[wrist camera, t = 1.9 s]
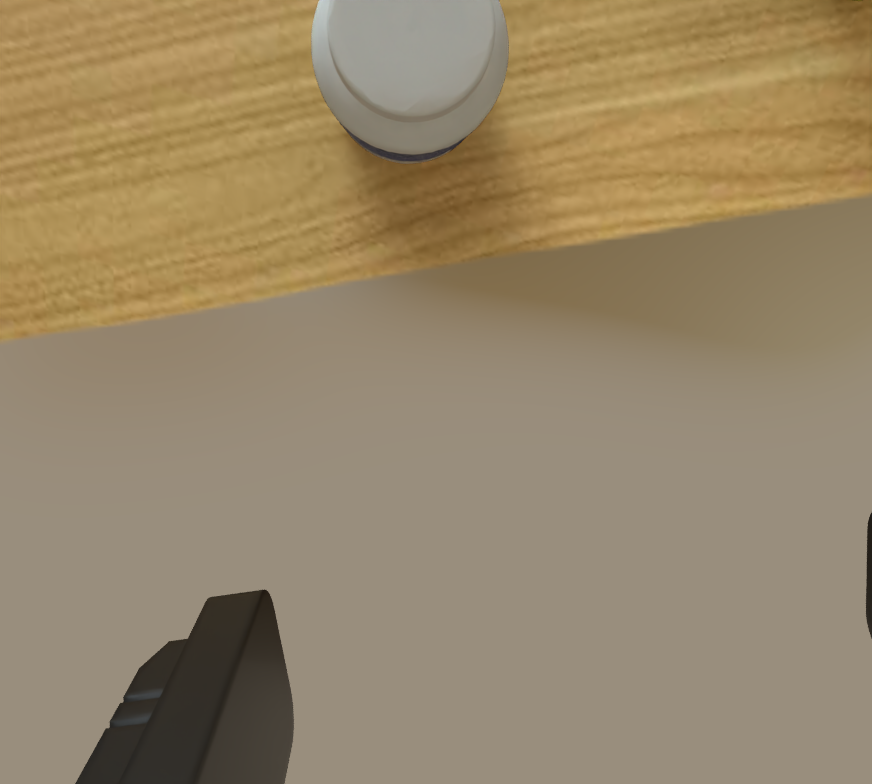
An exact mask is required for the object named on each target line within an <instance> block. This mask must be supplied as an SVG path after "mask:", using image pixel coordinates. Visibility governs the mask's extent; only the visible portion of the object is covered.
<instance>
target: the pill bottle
mask: <svg viewBox="0 0 872 784" xmlns="http://www.w3.org/2000/svg"><path fill="white" fill-rule="evenodd" d="M311 50H312V61H313V67H314V72H315V76H316V79H317V82H318V85H319V88H320V91H321V93H322V96H323V98H324V100H325V102H326V103H327V105H328V107H329V108H330V110H331V111H332V113H333V114H334V116H335V117H336V118H337V120H338V121H339V122H340V124H341V125H342V126H343V127H344V129H345V130H346V131H347V132H348V133H349V135H350V136H351V137H352V138H353V139H354V140H355V141H356V142H357V143H358V144H359V145H360V146H362V147H363V148H364V149H365V150H367V151H368V152H370V153H372V154H374V155H375V156H378V157H380V158H382V159H385V160H388V161H392V162H397V163H405V164H406V163H408V164H410V163H421V162H426V161H430V160H433V159H436V158H438V157H440V156H442V155H444V154H446V153H448V152H450V151H451V150H453V149H454V148H455V147H456V146H457V145H459V144H460V143H461V142H462V141H463V140H464V139H465V138H466V137H467V136H468V135H469V134H470V133H472V132H473V131H474V130H475V129H476V128H477V127H478V126H479V125H480V123H481V122H482V121H483V120H484V119H485V117H486V116H487V114H488V113H489V112H490V110H491V109H492V107H493V105H494V104H495V102H496V100H497V98H498V96H499V94H500V91H501V89H502V86H503V83H504V80H505V76H506V71H507V65H508V53H509V41H508V32H507V25H506V21H505V17H504V14H503V11H502V8H501V5H500V3H499V0H319V3H318V6H317V9H316V12H315V16H314V20H313V26H312V36H311Z"/></svg>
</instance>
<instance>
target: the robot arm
mask: <svg viewBox="0 0 872 784" xmlns="http://www.w3.org/2000/svg"><path fill="white" fill-rule="evenodd" d="M867 533H868V534H867V589H866V592H867V593H866V617H867V624H868V628H869V632H870V634H871V638H872V513H871V515H870V517H869V521H868V531H867ZM123 698H124V702H123V703H120V704H119V706H118V708H117V710H116V711H115V714H114V715H113V717H112V719H111V720H110V728H107V729H105V731H104V733H103V735H102V737H101V739H100V740H99V742H98V744H97V746H96V747H95V749H94V751H93V753H92V755H91V756H90V758H89V760H88V762H87V764H86V765H85V767H84V769H83V771H82V773H81V775H80V776H79V778H78V780H77V782H76V783H75V784H284V783H285V778H286V773H287V768H288V763H289V757H290V752H291V747H292V742H293V730H294V719H293V718H294V717H293V702H292V694H291V689H290V684H289V679H288V674H287V669H286V664H285V659H284V654H283V650H282V645H281V640H280V635H279V630H278V625H277V620H276V615H275V610H274V606H273V602H272V599H271V596H270V594H269V593H268V591H267V590H259V591H252V592H245V593H238V594H230V595H223V596H216V597H210V598H208V599H207V601H206V602H205V605H204V607H203V609H202V611H201V613H200V615H199V617H198V619H197V621H196V623H195V625H194V627H193V629H192V631H191V633H190V636H189V638H188V639H183V640H176V641H169V642H168V643H167V644H166V645H165V646H164V647H163V648H161V649H160V651H158V652H157V653H156V654H155V655H154V656H153V657H151V658H150V659H149V660H148V661H147V662H146V663H145V664H144V665H143V666H141V667H140V668H139V670H138V672H137V674H136V675H135V677H134V679H133V681H132V683H131V684H130V686H129V688H128V690H127V692H126V693H125V695H124V697H123Z"/></svg>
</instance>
